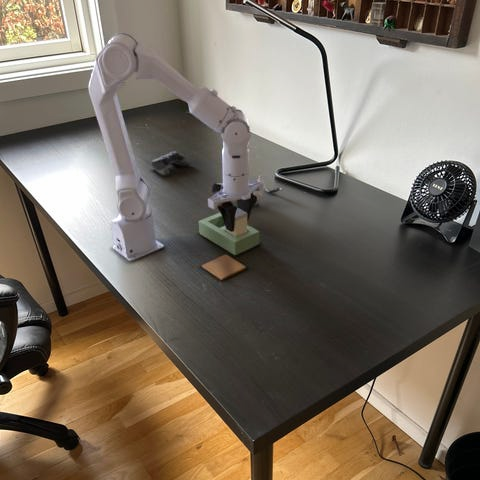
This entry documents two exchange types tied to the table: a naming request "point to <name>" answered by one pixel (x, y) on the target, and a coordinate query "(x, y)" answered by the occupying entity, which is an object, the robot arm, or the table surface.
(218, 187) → the clip-on lamp
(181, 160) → the gaming controller
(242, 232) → the cream rectangular block
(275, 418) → the table surface
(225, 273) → the cork pad
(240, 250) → the holder
